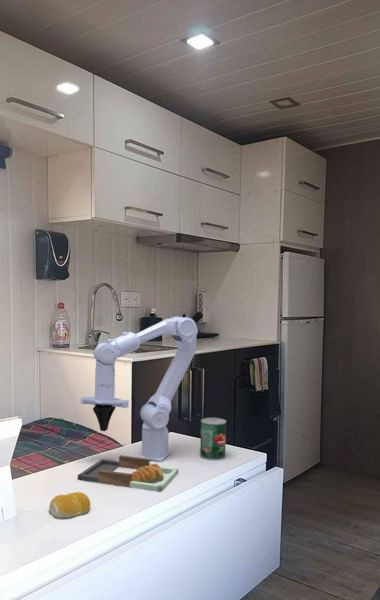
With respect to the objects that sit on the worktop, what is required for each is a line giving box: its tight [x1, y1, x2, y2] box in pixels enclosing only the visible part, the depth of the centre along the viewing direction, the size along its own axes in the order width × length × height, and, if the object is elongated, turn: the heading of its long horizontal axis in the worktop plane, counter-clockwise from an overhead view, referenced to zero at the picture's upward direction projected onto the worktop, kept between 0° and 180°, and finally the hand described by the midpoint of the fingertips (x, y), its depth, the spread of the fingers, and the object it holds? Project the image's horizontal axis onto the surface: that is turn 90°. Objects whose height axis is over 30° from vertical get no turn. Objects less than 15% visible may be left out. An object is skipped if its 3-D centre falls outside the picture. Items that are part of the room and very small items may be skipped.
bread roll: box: [48, 491, 91, 519], centre depth 113 cm, size 8×9×4 cm
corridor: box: [97, 455, 151, 488], centre depth 135 cm, size 14×9×3 cm, turn 163°
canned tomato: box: [199, 417, 227, 461], centre depth 154 cm, size 8×8×11 cm
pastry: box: [131, 463, 165, 484], centre depth 132 cm, size 9×7×4 cm
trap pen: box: [77, 458, 120, 484], centre depth 137 cm, size 14×6×1 cm, turn 163°
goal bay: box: [129, 465, 179, 492], centre depth 132 cm, size 14×8×1 cm, turn 163°
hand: (103, 430), depth 146 cm, fingers closed
